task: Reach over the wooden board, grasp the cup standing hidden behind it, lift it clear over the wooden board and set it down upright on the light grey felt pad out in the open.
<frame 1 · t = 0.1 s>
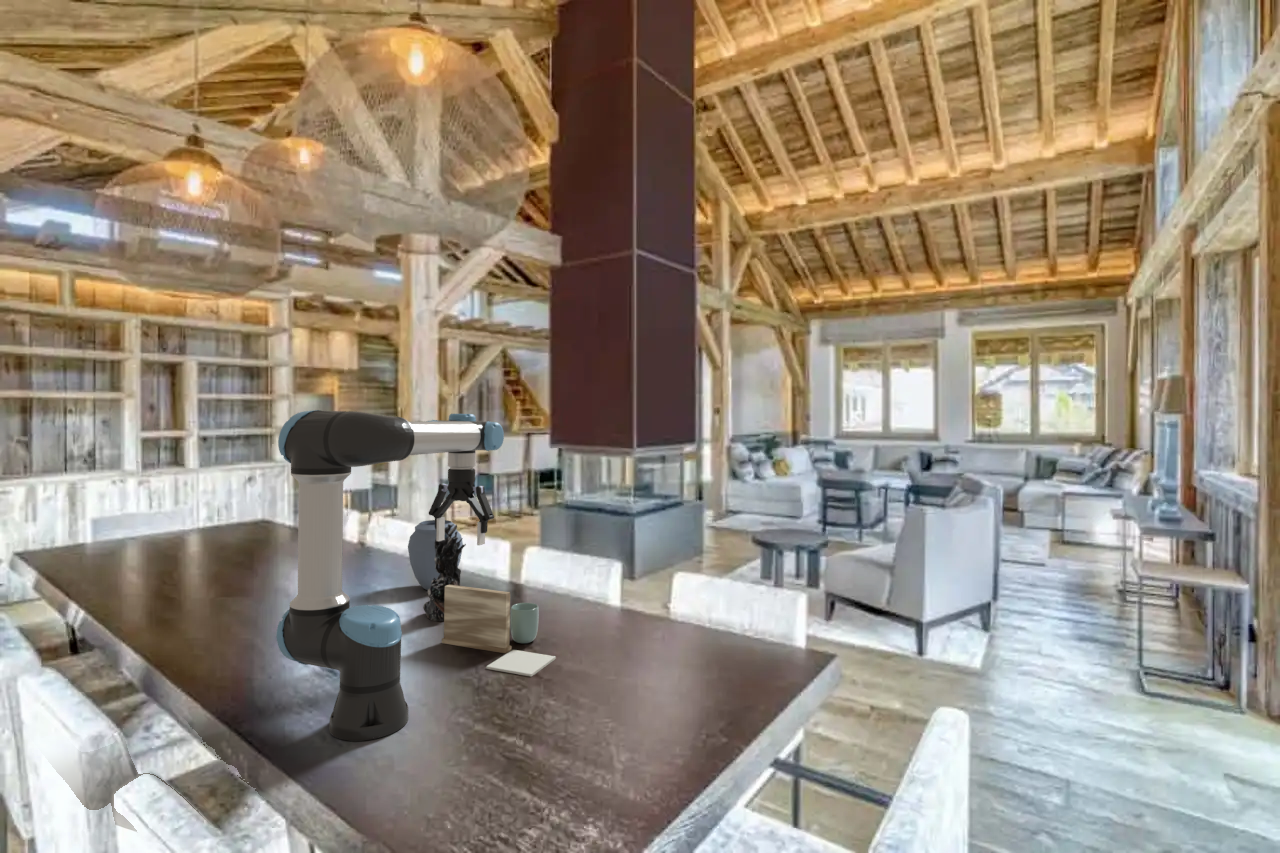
hand: (460, 542, 186), 28 cm above the table, fingers open, 13 cm apart
cup: (524, 642, 187), on the table
pad: (521, 663, 170), on the table
wooden board: (476, 646, 182), on the table
sculpture: (443, 617, 208), on the table
vase: (435, 588, 242), on the table
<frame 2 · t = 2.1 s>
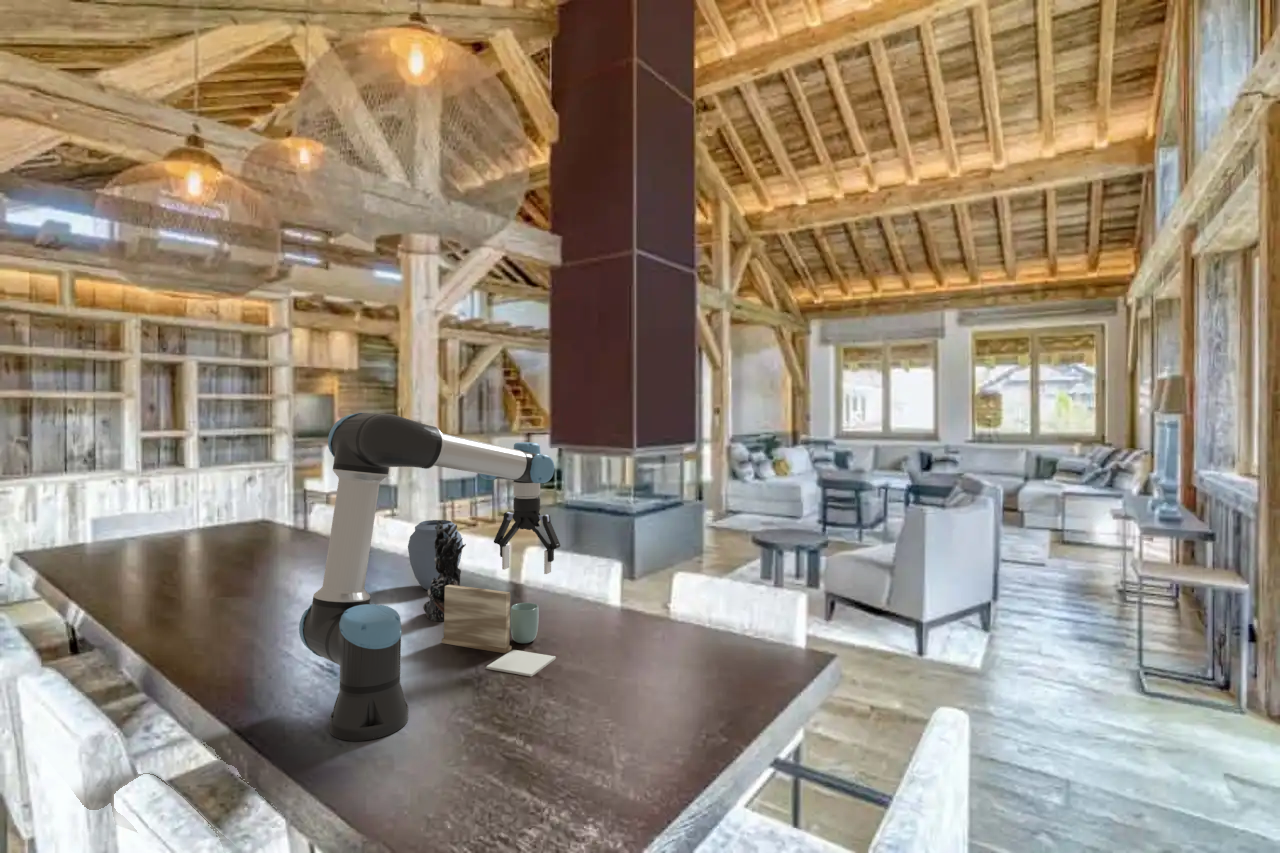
hand: (526, 570, 187), 20 cm above the table, fingers open, 13 cm apart
nothing on the table moved.
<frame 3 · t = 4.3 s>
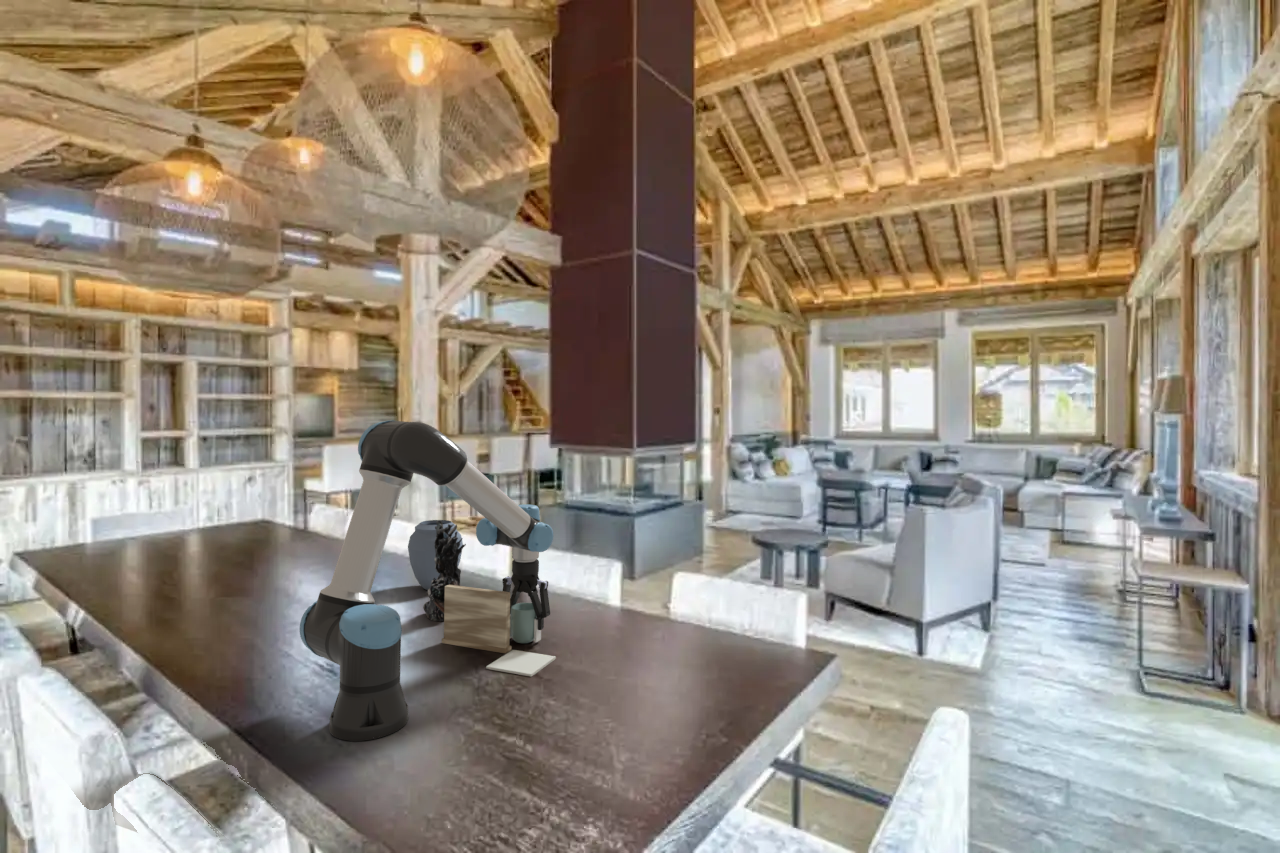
hand: (524, 638, 187), 1 cm above the table, fingers closed on cup, 8 cm apart
cup: (524, 641, 187), on the table, touching gripper
everything else where it was.
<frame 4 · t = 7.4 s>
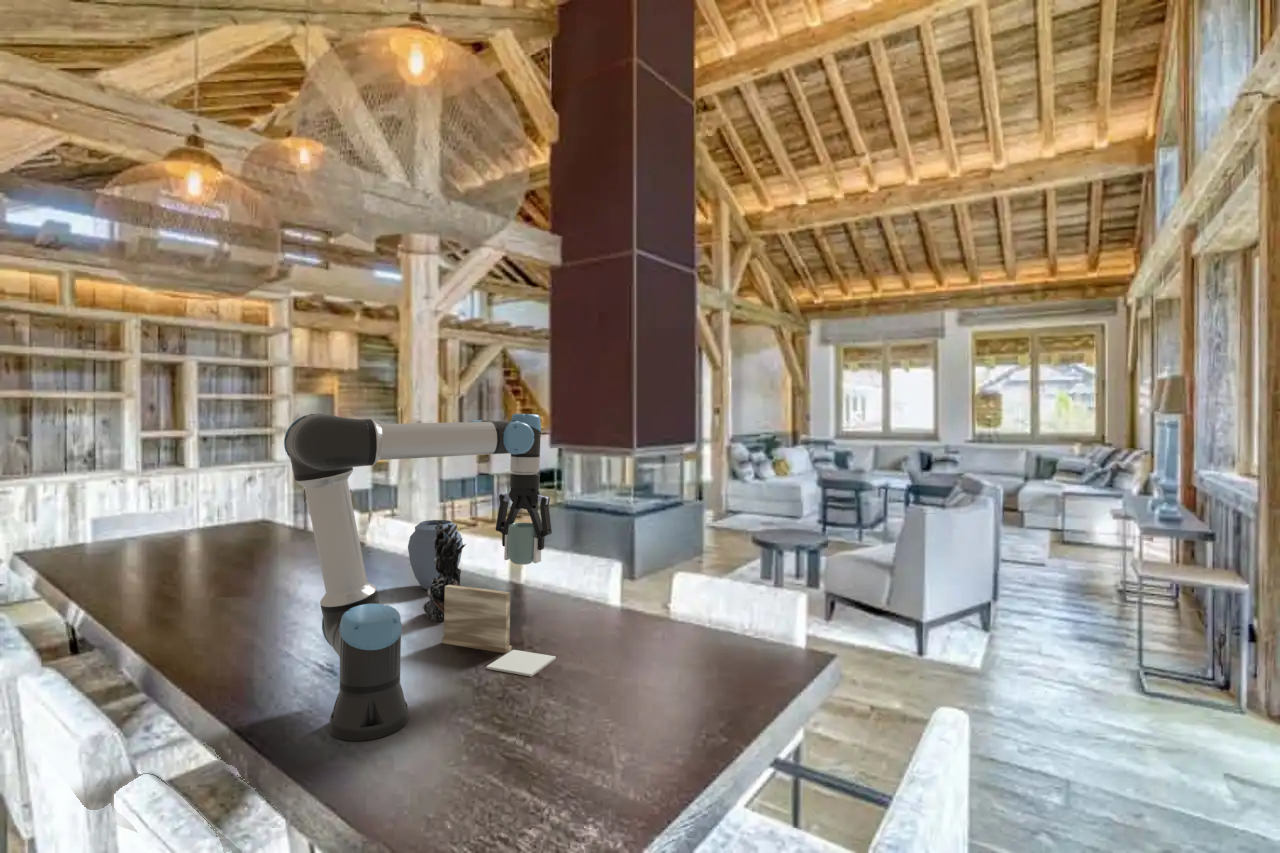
hand: (522, 560, 170), 27 cm above the table, fingers closed on cup, 8 cm apart
cup: (522, 564, 170), point 26 cm above the table, touching gripper
everything else where it was.
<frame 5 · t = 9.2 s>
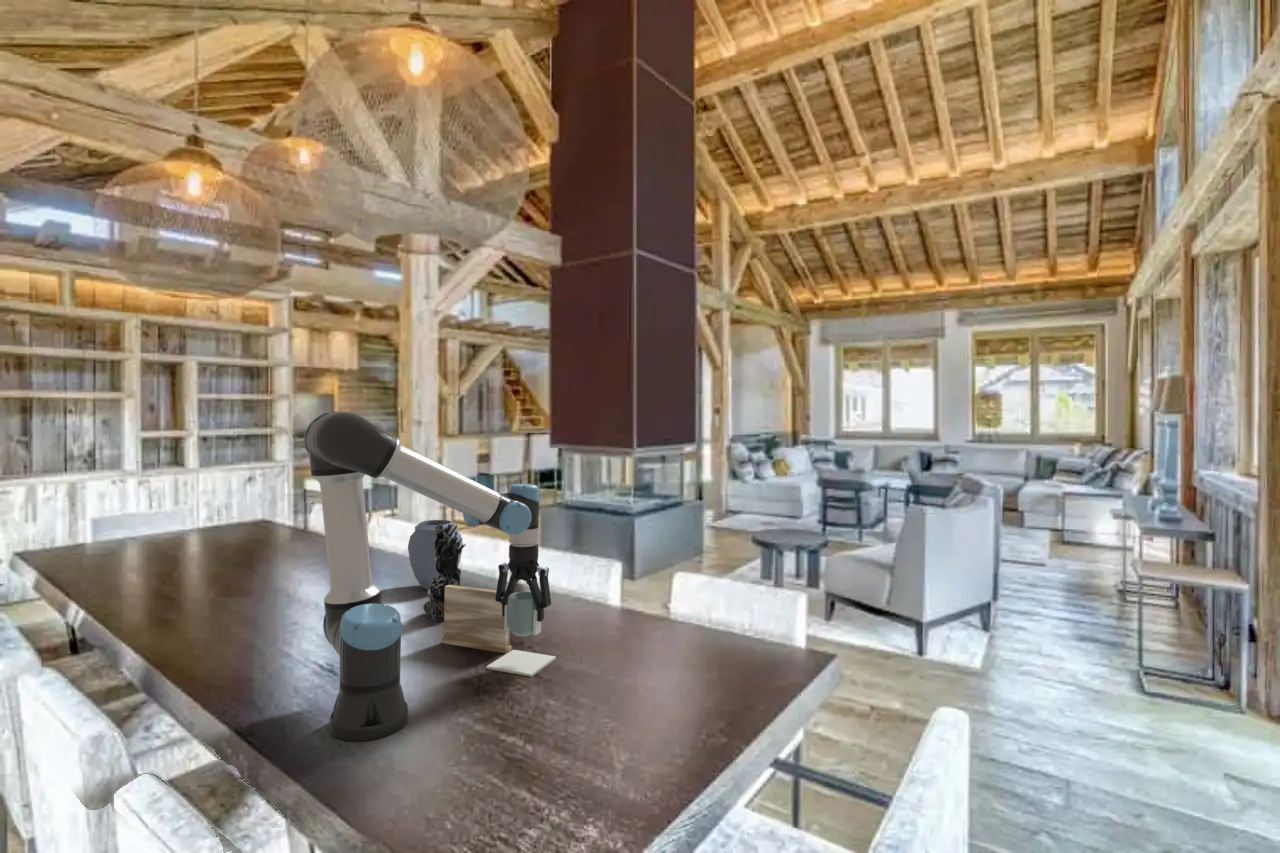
hand: (522, 631, 170), 8 cm above the table, fingers closed on cup, 8 cm apart
cup: (522, 634, 170), point 8 cm above the table, touching gripper
everything else where it was.
when the fingers open (3 cm above the table, at t = 10.5 s): cup drops 1 cm, resting on pad.
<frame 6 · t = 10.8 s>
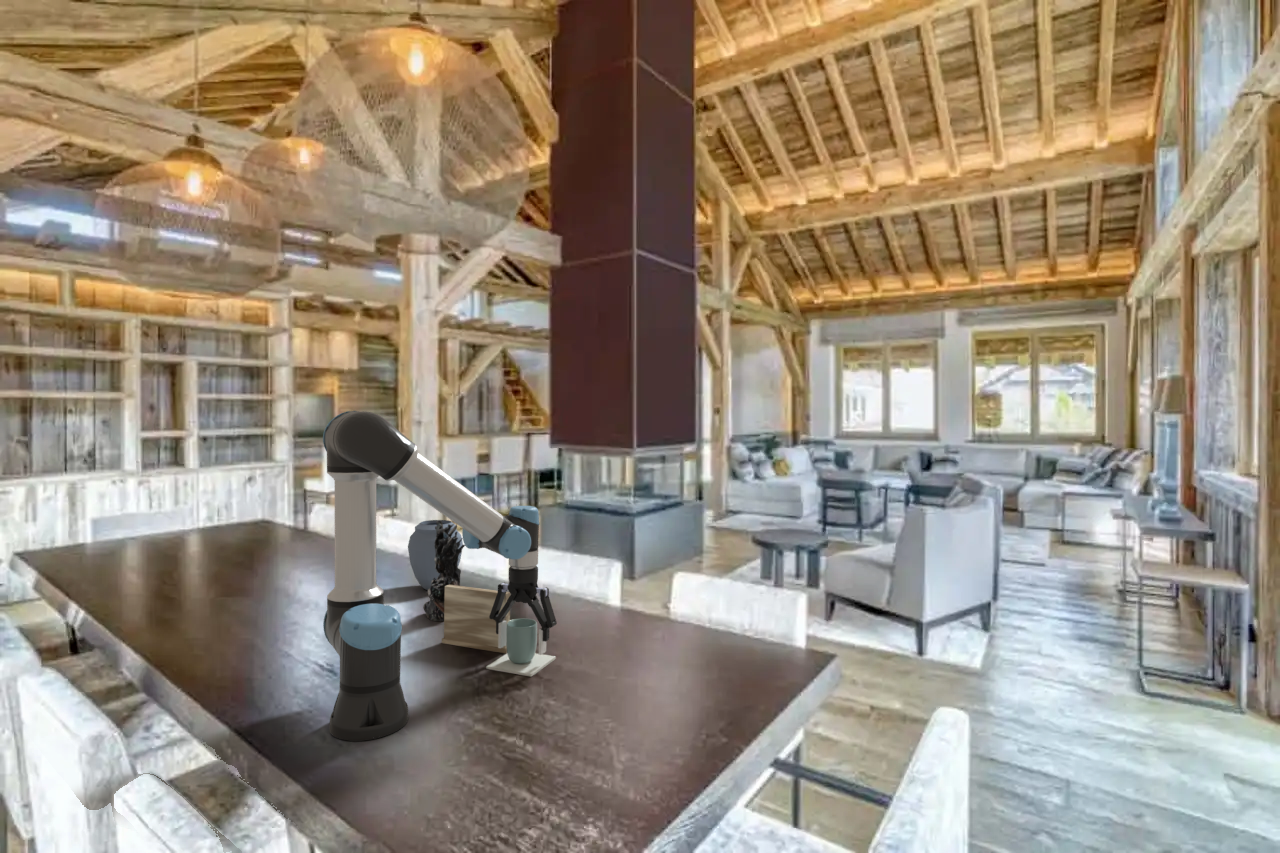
hand: (522, 649, 170), 4 cm above the table, fingers open, 11 cm apart
cup: (521, 661, 170), resting on pad
everything else where it was.
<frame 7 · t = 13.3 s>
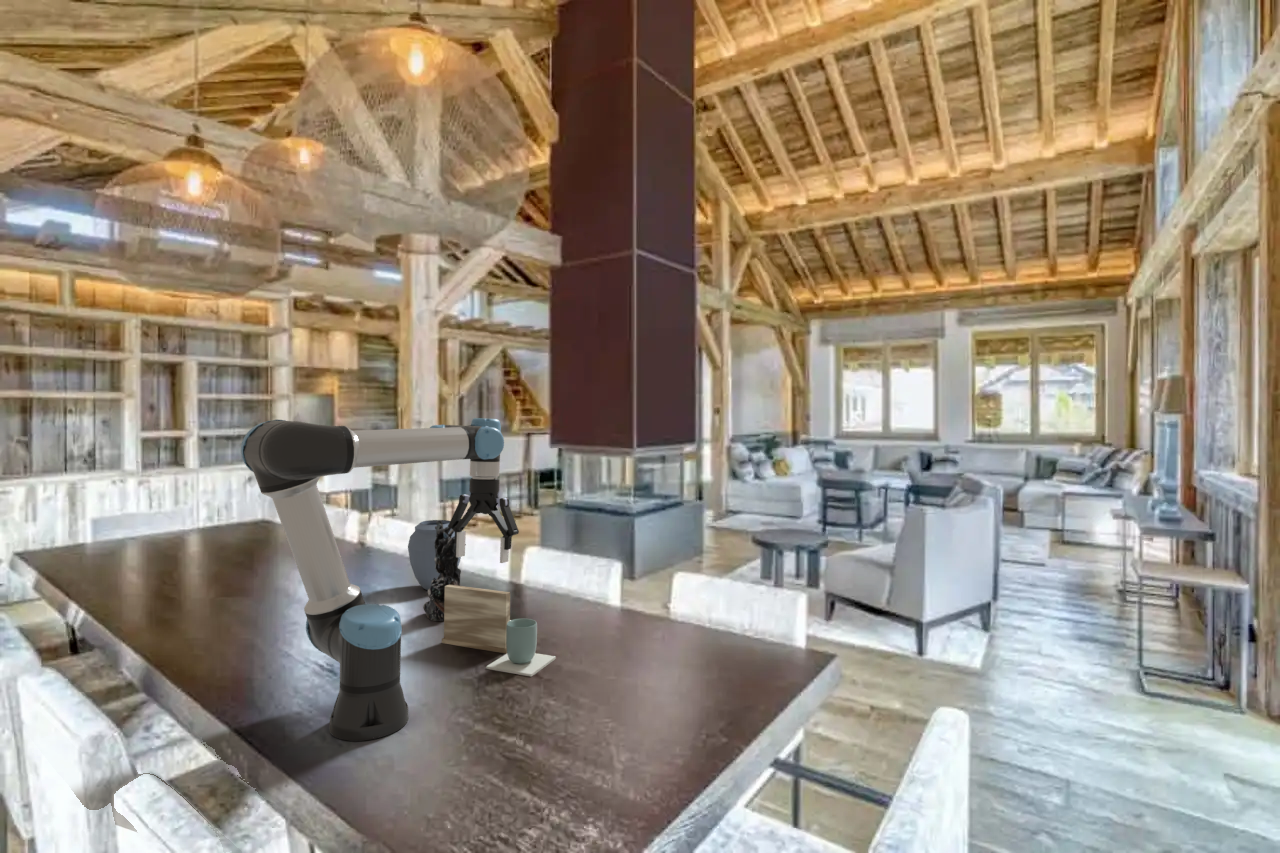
hand: (482, 559, 170), 27 cm above the table, fingers open, 13 cm apart
nothing on the table moved.
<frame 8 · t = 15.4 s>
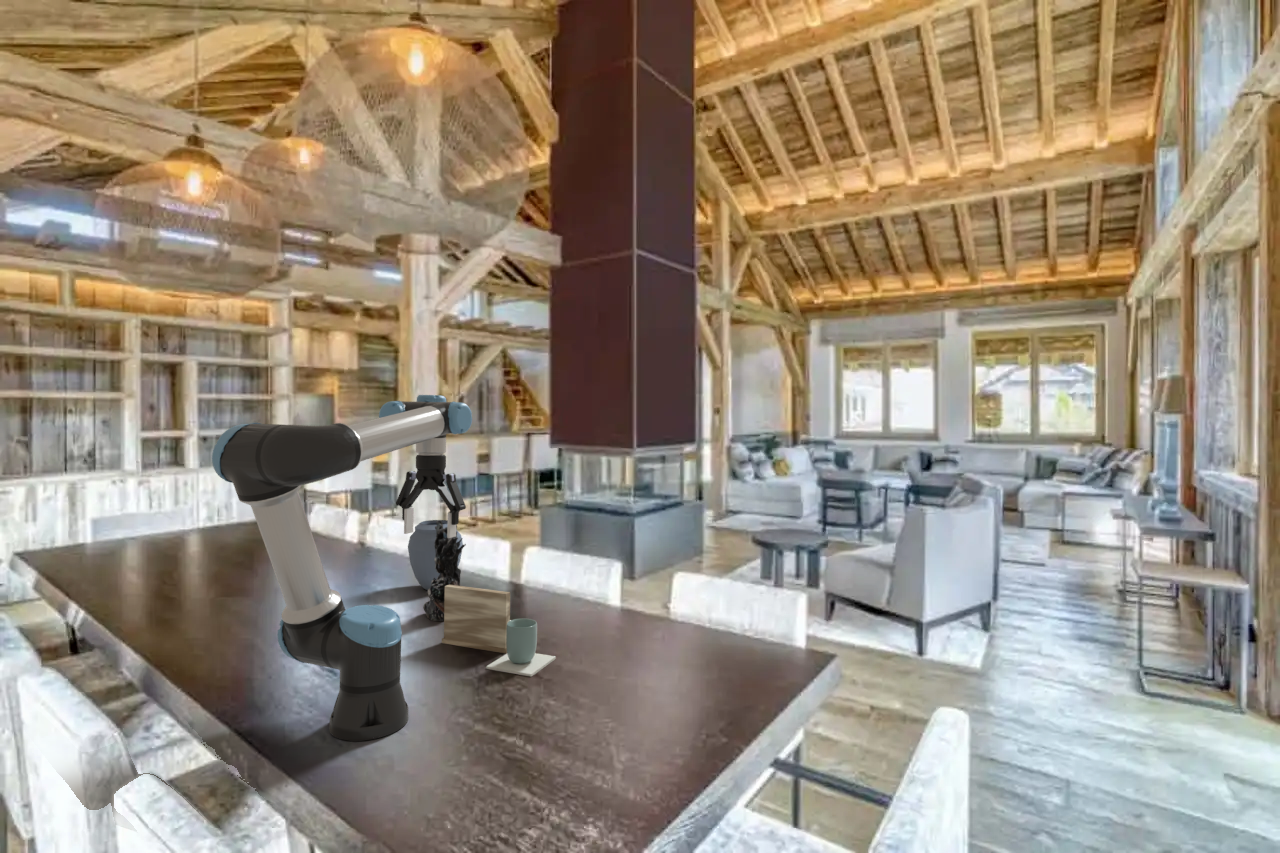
hand: (429, 535, 171), 33 cm above the table, fingers open, 13 cm apart
nothing on the table moved.
at the end: cup inside the target area on the pad (0.2 cm from its centre), point 0.4 cm above the pad's base; cup tilted 0°; the gripper is holding nothing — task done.
